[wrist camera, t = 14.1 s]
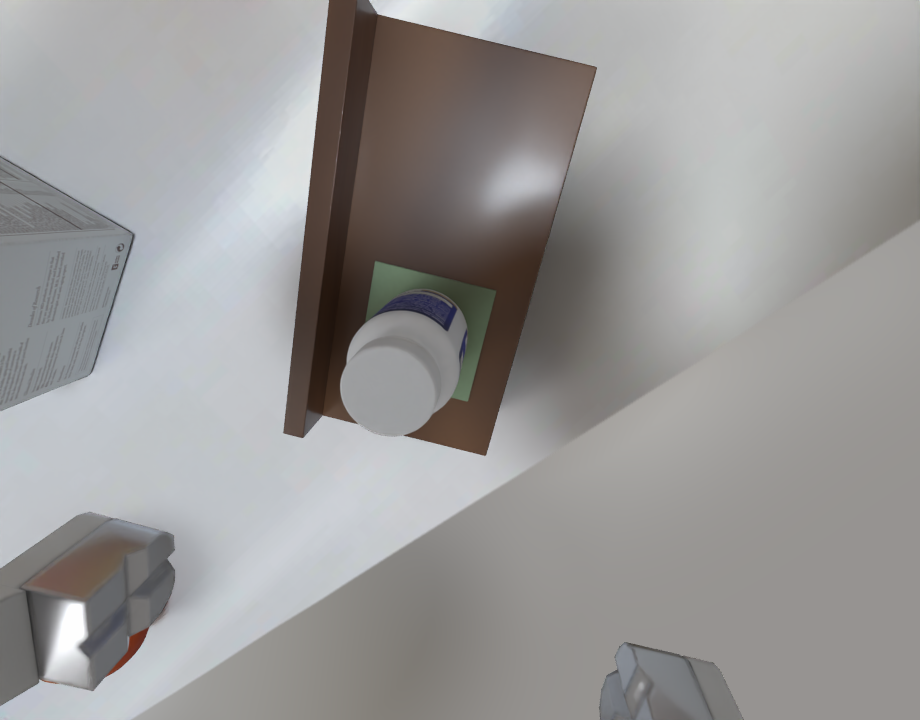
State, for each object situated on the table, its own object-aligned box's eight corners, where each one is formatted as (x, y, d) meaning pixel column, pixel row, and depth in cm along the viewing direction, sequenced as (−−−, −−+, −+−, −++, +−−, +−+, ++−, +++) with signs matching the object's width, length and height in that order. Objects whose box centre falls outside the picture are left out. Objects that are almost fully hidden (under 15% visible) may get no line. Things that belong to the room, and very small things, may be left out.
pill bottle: (362, 314, 26) (297, 364, 18) (440, 270, 25) (408, 303, 17) (409, 389, 27) (368, 469, 19) (485, 351, 26) (476, 419, 18)
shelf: (577, 96, 27) (612, 45, 19) (488, 415, 34) (483, 483, 26) (384, 49, 27) (331, -22, 19) (337, 377, 34) (283, 433, 26)
